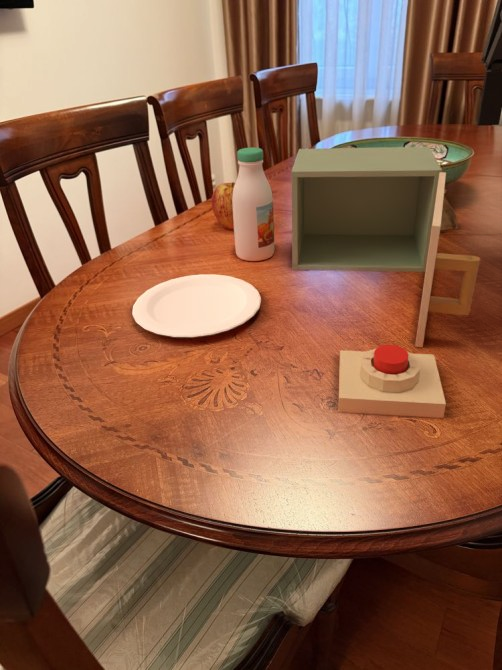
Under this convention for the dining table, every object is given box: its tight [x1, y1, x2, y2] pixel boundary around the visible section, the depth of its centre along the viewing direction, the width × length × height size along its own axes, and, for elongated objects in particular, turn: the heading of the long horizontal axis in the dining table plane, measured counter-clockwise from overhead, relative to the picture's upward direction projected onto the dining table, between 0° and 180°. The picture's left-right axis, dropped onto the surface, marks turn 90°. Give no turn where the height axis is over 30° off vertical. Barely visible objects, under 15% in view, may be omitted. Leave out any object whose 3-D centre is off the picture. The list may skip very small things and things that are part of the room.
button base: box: [337, 347, 447, 419], centre depth 64 cm, size 12×10×4 cm
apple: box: [211, 181, 236, 231], centre depth 114 cm, size 9×9×10 cm
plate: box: [131, 273, 262, 339], centre depth 84 cm, size 21×21×2 cm
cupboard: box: [291, 146, 443, 273], centre depth 96 cm, size 16×24×18 cm, turn 81°
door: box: [414, 171, 481, 348], centre depth 76 cm, size 6×24×18 cm, turn 161°
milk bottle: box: [232, 147, 275, 262], centre depth 97 cm, size 8×8×20 cm
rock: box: [440, 195, 459, 235], centre depth 105 cm, size 11×9×10 cm
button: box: [373, 344, 409, 375], centre depth 63 cm, size 4×4×2 cm
